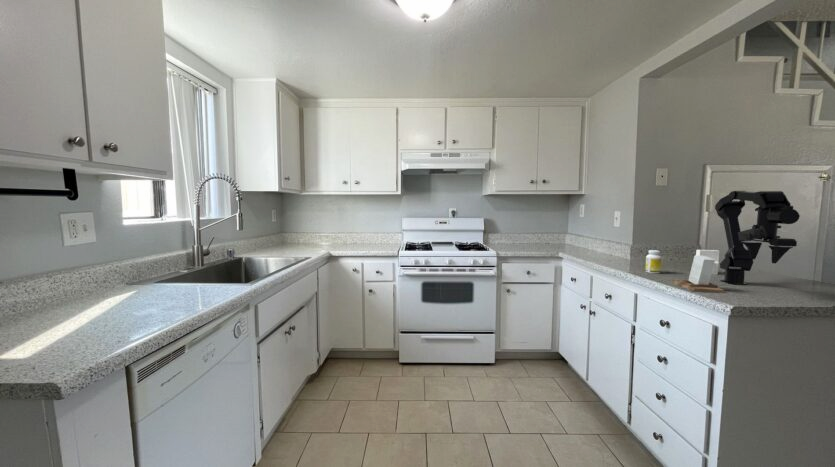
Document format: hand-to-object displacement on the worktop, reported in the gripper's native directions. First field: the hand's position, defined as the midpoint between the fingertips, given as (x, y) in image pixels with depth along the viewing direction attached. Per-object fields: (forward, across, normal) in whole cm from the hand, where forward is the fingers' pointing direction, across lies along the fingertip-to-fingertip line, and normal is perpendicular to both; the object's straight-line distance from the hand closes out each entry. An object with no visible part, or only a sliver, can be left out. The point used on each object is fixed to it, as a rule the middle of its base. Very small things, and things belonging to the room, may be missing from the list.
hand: (763, 261), depth 125 cm
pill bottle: (+13, -34, -22) cm, 43 cm away
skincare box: (+12, -4, -20) cm, 23 cm away
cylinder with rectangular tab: (+13, -38, +5) cm, 41 cm away
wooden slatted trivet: (+13, -4, -20) cm, 24 cm away
